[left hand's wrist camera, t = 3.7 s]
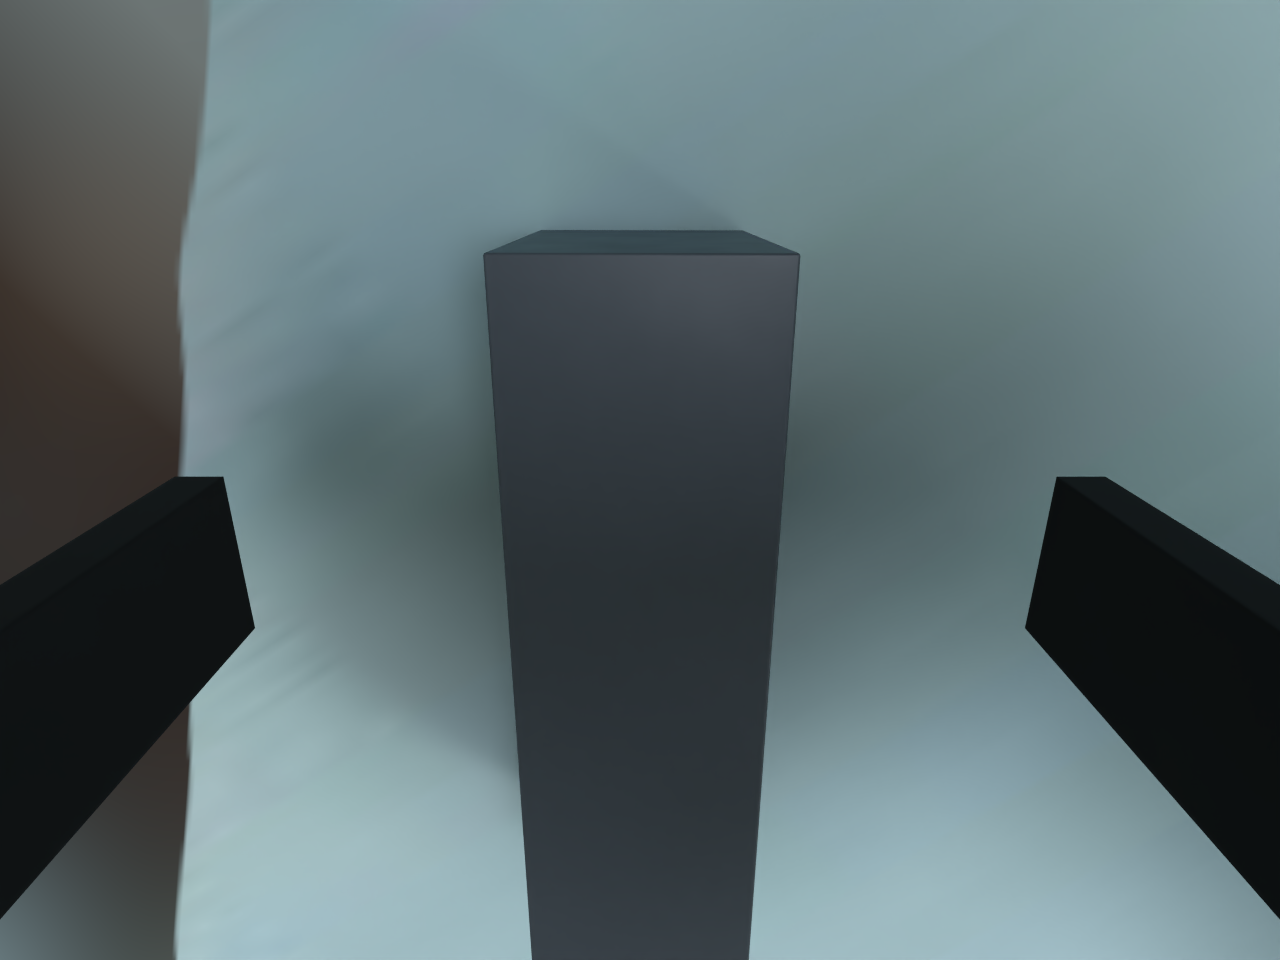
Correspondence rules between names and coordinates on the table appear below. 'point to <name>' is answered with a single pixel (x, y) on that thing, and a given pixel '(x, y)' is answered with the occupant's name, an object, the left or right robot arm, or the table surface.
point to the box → (641, 574)
